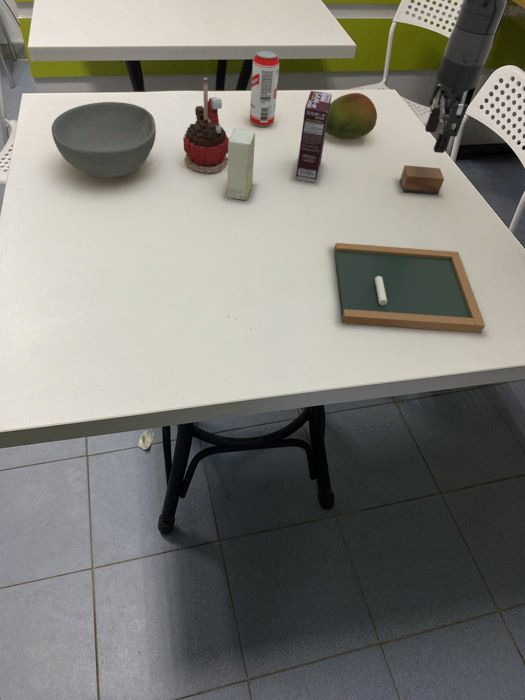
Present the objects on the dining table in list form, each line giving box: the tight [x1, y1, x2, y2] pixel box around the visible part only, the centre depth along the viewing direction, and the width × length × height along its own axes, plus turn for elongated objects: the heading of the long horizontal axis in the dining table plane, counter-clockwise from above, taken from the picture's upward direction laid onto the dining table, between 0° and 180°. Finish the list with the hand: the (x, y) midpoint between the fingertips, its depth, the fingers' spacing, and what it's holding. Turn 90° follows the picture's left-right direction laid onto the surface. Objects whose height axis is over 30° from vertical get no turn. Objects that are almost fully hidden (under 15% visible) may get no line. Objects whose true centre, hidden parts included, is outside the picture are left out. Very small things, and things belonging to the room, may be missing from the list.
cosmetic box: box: [226, 127, 256, 201], centre depth 100 cm, size 6×4×12 cm
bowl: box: [51, 101, 157, 178], centre depth 103 cm, size 20×20×10 cm
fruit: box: [326, 92, 378, 140], centre depth 120 cm, size 12×13×10 cm
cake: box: [182, 77, 230, 173], centre depth 104 cm, size 11×9×18 cm
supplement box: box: [295, 90, 333, 183], centre depth 106 cm, size 9×5×16 cm, turn 168°
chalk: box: [375, 276, 387, 306], centre depth 85 cm, size 1×6×1 cm, turn 179°
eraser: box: [399, 164, 445, 196], centre depth 109 cm, size 8×4×4 cm, turn 89°
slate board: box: [333, 242, 486, 333], centre depth 88 cm, size 24×19×2 cm
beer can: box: [249, 48, 280, 128], centre depth 119 cm, size 6×6×16 cm
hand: (434, 141), depth 102 cm, fingers open, 8 cm apart
